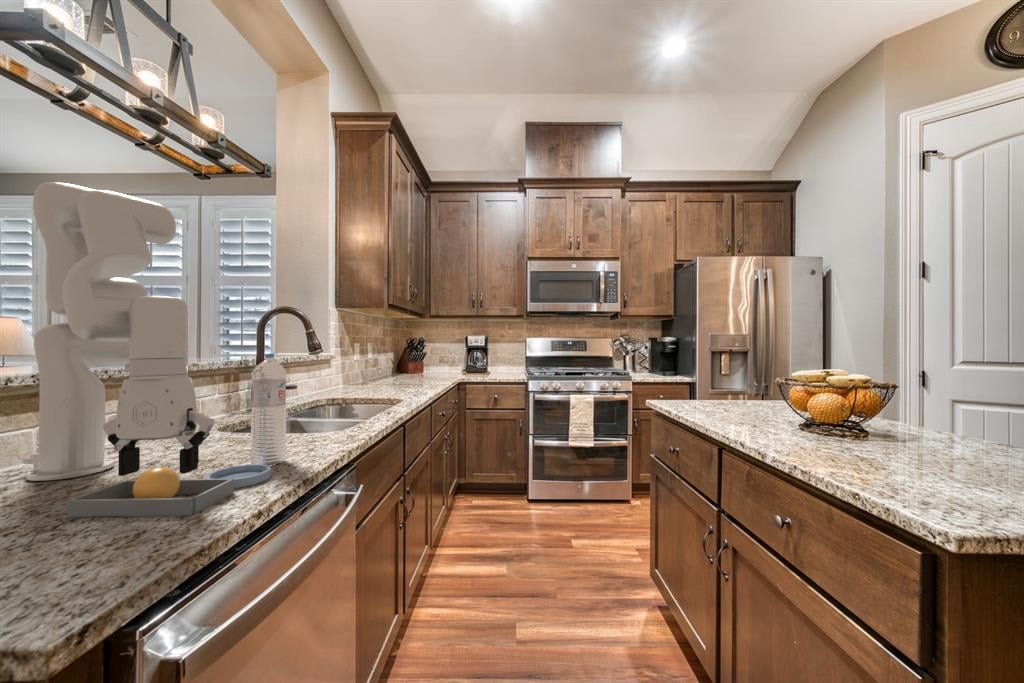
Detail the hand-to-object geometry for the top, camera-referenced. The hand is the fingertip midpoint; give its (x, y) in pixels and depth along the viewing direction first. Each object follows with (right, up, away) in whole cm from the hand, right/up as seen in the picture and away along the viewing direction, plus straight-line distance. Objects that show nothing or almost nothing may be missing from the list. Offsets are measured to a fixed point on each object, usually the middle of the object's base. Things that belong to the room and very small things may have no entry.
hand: (159, 472), depth 68 cm
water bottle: (+4, -6, +24) cm, 25 cm away
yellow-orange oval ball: (-1, -5, 0) cm, 5 cm away
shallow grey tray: (-1, -5, 0) cm, 5 cm away
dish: (+5, -6, +12) cm, 14 cm away
